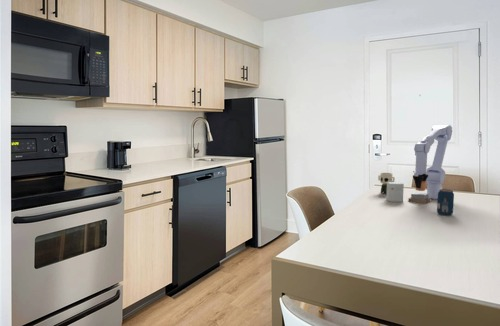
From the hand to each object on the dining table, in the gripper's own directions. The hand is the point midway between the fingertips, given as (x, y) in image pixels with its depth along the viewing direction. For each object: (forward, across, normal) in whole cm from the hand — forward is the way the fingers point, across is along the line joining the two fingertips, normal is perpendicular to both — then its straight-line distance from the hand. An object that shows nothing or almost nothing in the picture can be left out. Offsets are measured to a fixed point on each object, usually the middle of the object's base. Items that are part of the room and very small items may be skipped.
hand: (420, 187), depth 203 cm
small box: (+8, +8, -11) cm, 16 cm away
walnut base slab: (+9, 0, 0) cm, 9 cm away
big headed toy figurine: (+8, -9, -24) cm, 27 cm away
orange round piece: (+1, 0, 0) cm, 1 cm away
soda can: (+8, +22, +20) cm, 31 cm away
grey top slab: (+6, 0, 0) cm, 6 cm away
